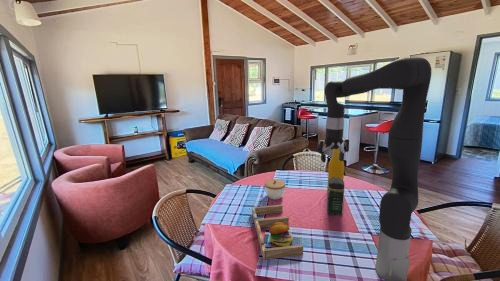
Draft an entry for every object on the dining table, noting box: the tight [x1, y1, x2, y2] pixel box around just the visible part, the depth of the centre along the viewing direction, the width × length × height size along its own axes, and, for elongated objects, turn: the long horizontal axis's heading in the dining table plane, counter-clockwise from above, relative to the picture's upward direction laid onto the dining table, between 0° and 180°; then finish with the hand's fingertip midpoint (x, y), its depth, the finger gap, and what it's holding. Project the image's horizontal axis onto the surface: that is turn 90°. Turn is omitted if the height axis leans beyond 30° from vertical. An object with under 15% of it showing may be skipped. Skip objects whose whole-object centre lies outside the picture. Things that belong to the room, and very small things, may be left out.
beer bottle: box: [327, 149, 345, 191], centre depth 147 cm, size 9×9×29 cm
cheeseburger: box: [268, 222, 294, 248], centre depth 104 cm, size 10×11×10 cm
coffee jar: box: [326, 177, 345, 216], centre depth 126 cm, size 10×8×19 cm
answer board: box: [251, 204, 304, 260], centre depth 112 cm, size 34×17×5 cm, turn 7°
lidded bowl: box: [264, 178, 286, 200], centre depth 145 cm, size 13×13×11 cm
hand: (332, 161), depth 110 cm, fingers open, 8 cm apart
